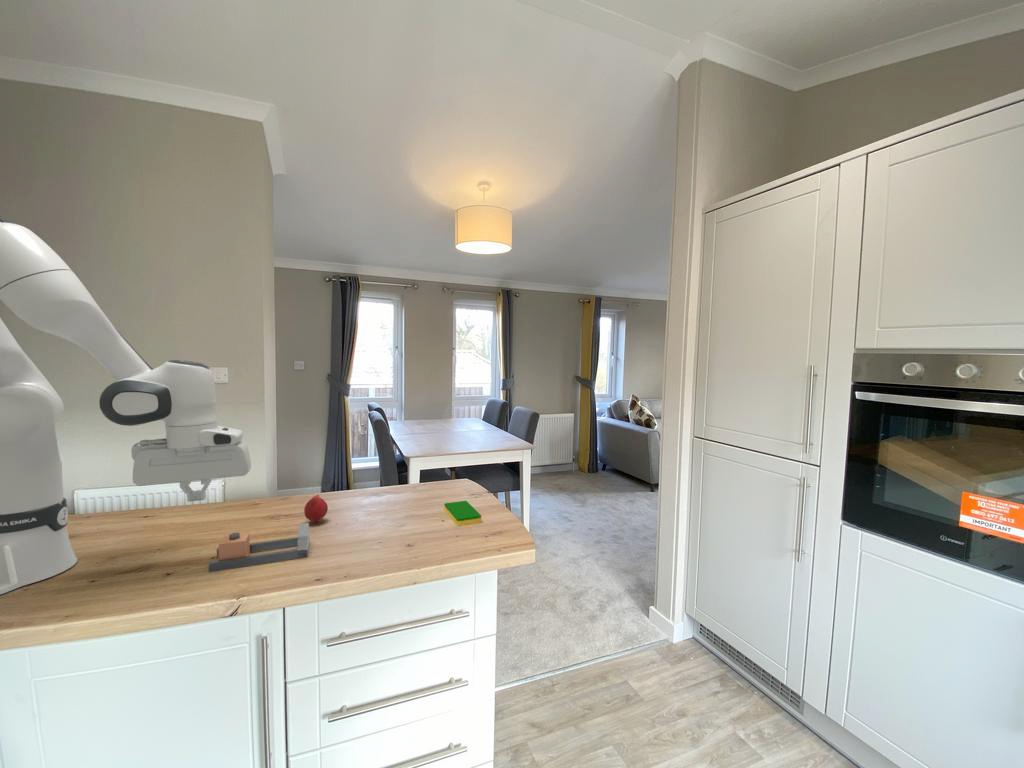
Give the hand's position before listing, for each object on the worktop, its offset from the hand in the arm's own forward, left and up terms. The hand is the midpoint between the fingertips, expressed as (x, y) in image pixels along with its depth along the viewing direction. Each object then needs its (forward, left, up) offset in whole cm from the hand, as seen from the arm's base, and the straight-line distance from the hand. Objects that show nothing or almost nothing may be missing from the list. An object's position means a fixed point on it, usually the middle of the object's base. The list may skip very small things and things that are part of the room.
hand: (196, 500), depth 91 cm
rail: (+12, 0, -15) cm, 19 cm away
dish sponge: (+62, +8, -15) cm, 64 cm away
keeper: (+7, 0, -15) cm, 16 cm away
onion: (+23, +17, -15) cm, 32 cm away
